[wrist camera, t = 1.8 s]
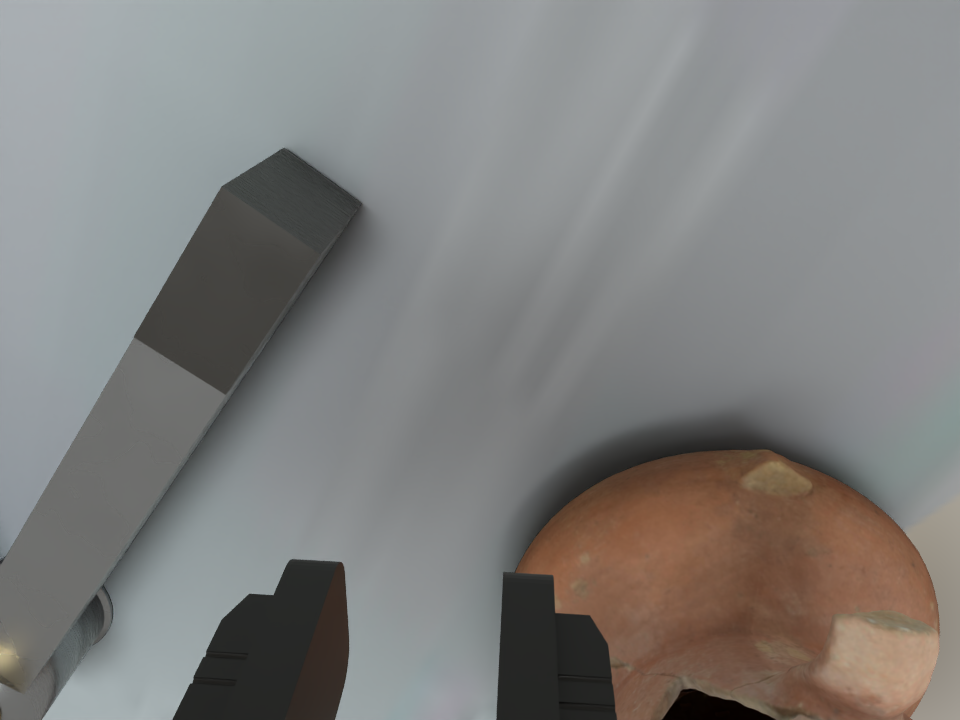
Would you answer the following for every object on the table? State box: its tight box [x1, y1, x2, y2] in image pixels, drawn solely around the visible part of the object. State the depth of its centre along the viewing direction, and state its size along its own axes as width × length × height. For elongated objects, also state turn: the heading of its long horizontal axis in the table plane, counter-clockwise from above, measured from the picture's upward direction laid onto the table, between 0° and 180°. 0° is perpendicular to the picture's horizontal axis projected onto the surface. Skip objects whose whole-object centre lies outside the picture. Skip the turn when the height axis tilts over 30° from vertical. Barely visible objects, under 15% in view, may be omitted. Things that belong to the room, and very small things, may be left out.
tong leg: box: [0, 148, 362, 720], centre depth 26 cm, size 24×5×5 cm, turn 144°
